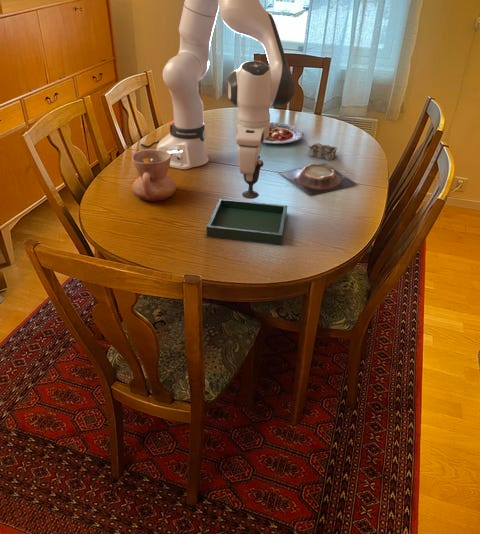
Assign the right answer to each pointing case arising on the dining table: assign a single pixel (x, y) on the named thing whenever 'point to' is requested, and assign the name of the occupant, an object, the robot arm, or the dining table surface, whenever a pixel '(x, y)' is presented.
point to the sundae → (253, 181)
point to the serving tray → (248, 221)
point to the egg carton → (322, 151)
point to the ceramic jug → (153, 175)
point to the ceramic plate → (282, 133)
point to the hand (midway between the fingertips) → (251, 175)
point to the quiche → (318, 178)
